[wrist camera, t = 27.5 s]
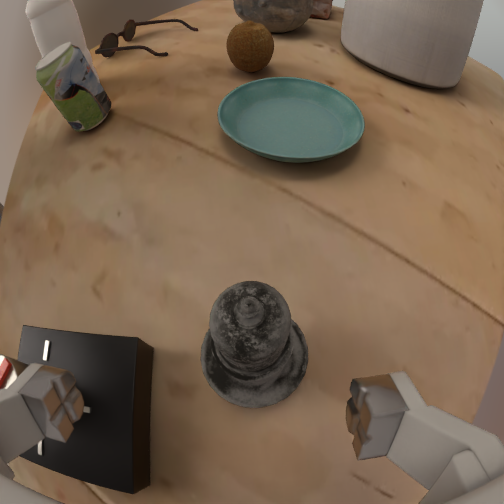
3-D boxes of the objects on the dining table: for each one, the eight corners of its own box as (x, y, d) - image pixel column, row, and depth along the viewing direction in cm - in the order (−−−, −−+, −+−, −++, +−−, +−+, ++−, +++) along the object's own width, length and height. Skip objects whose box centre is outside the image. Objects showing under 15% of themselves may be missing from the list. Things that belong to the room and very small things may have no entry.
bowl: (293, 46, 42) (295, -7, 33) (217, 33, 46) (212, -13, 38) (322, 27, 48) (325, -15, 39) (254, 15, 52) (253, -23, 43)
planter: (382, 33, 49) (394, -45, 31) (471, 83, 40) (498, -1, 22) (313, 44, 43) (319, -59, 25) (425, 106, 34) (462, -19, 16)
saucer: (387, 149, 29) (393, 130, 27) (269, 203, 26) (270, 182, 23) (303, 83, 35) (304, 67, 33) (197, 117, 32) (194, 99, 30)
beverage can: (123, 111, 34) (97, 32, 23) (80, 147, 31) (41, 66, 21) (98, 103, 36) (72, 34, 25) (58, 136, 33) (24, 65, 22)
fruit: (238, 60, 39) (236, 13, 32) (279, 65, 38) (280, 17, 31) (221, 78, 37) (216, 26, 30) (265, 83, 35) (265, 29, 28)
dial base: (27, 448, 15) (1, 448, 12) (35, 334, 20) (12, 322, 17) (150, 485, 15) (132, 495, 12) (153, 347, 20) (137, 336, 17)
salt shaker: (313, 340, 20) (370, 253, 9) (279, 421, 17) (305, 438, 7) (233, 309, 21) (205, 196, 11) (195, 385, 19) (115, 347, 8)
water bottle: (65, 111, 36) (12, -26, 14) (59, 97, 39) (14, -24, 17) (105, 88, 38) (64, -51, 16) (95, 77, 41) (59, -45, 19)
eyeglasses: (138, 34, 51) (133, 15, 46) (200, 29, 48) (197, 8, 44) (99, 64, 44) (92, 43, 39) (166, 58, 42) (161, 32, 37)
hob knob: (48, 438, 14) (-1, 436, 9) (15, 400, 15) (-32, 388, 10) (73, 395, 15) (25, 383, 11) (37, 358, 16) (-9, 338, 12)
